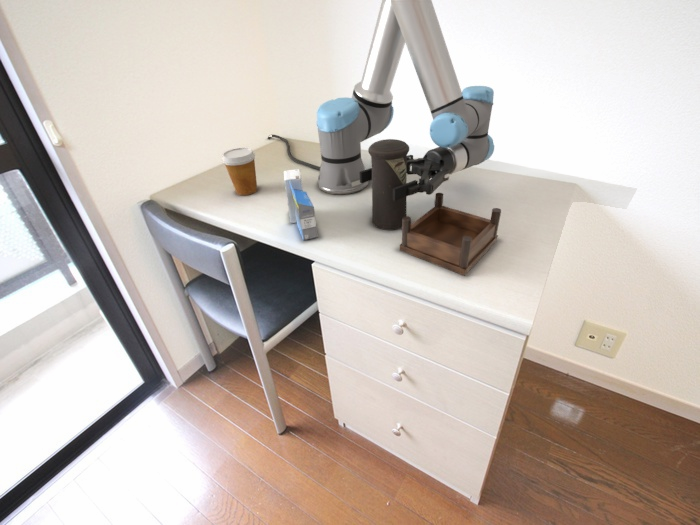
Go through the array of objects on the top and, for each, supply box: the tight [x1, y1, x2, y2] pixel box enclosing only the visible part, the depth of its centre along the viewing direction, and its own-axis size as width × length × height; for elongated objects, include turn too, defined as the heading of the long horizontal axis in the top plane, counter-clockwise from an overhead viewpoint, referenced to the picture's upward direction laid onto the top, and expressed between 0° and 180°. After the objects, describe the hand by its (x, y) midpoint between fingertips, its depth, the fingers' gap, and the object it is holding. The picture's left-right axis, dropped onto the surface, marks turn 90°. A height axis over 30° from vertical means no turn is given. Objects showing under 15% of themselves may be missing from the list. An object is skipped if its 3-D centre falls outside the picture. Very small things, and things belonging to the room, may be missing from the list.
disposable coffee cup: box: [221, 147, 258, 196], centre depth 110 cm, size 10×10×12 cm
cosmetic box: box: [283, 168, 304, 224], centre depth 94 cm, size 6×4×12 cm
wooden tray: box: [399, 192, 502, 277], centre depth 80 cm, size 16×16×8 cm
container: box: [367, 138, 410, 231], centre depth 86 cm, size 9×9×20 cm
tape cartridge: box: [289, 180, 319, 241], centre depth 88 cm, size 9×4×12 cm, turn 17°
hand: (376, 185), depth 84 cm, fingers open, 12 cm apart
